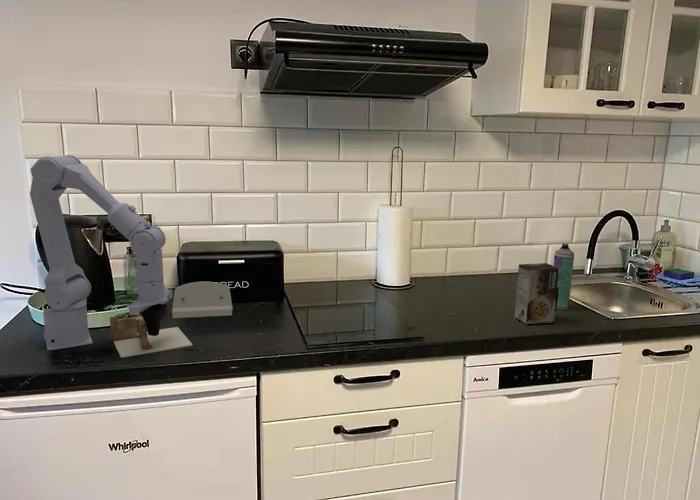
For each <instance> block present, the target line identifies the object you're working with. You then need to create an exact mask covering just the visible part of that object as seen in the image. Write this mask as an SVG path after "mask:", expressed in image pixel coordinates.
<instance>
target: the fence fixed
mask: <svg viewBox="0 0 700 500" xmlns="http://www.w3.org/2000/svg"><path fill="white" fill-rule="evenodd" d="M109 324H110V325H109V327H110V341H112V342H113V341H118V340H119V339H125V338H132V337H138V317H137V316H132V317H126V318H125V317H124V318H119V317H118V316H111V317H109Z"/></svg>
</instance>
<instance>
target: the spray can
mask: <svg viewBox="0 0 700 500" xmlns="http://www.w3.org/2000/svg"><path fill="white" fill-rule="evenodd" d="M553 258H554V259H553V266H554V267H556V268H559V272H558V283H557V295H556V306H555V307H558V308H565V307H568V306H569V307H570V298H571V288H572V279H573V270H574V260H575V252H574V251H573V250H571V248H570V247H569V244H568V243H562V244H561V247H559V249H557V250H555V253H554V257H553Z"/></svg>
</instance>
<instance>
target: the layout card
mask: <svg viewBox="0 0 700 500" xmlns="http://www.w3.org/2000/svg"><path fill="white" fill-rule="evenodd" d="M147 338H148V347H147V348H141V345H140V336H139V333H138V337H132V338H125V339H119V340H118V341H112V342H113V344H114V346H115V348H116V350H117V352H118V354H119V357H120V358H121V359H123V358H128V357H134V356H140V355H146V354H152V353H153V354H154V353H157V352H165V351H169V350H175V349H181V348H186V347H193V344H192V342H191V340H189V338H188V337H187V336H186V335H185V334H184V332H182V330H181V329H180V328H179V327H178V326H176V327H175V326H174V327H168V328H162V329H159V335H157V336H151V335H148V331H147Z"/></svg>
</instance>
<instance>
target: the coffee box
mask: <svg viewBox="0 0 700 500" xmlns="http://www.w3.org/2000/svg"><path fill="white" fill-rule="evenodd" d="M517 272H518V273H517V282H516V284H517V285H516V294H515V295H516V296H515V310H514V318H515V317H516V318H518V319H520V320H521V321H523V322H525V323H530V322H542V321H554V322H555V316H556V315H555V314H556V310H555V306H556V295H557V283H558V272H559V268H556V267H554V265H552V264H549V263H547V262H545V263H542V262H541V263H525V264H524V263H522V264H518V271H517Z"/></svg>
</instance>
